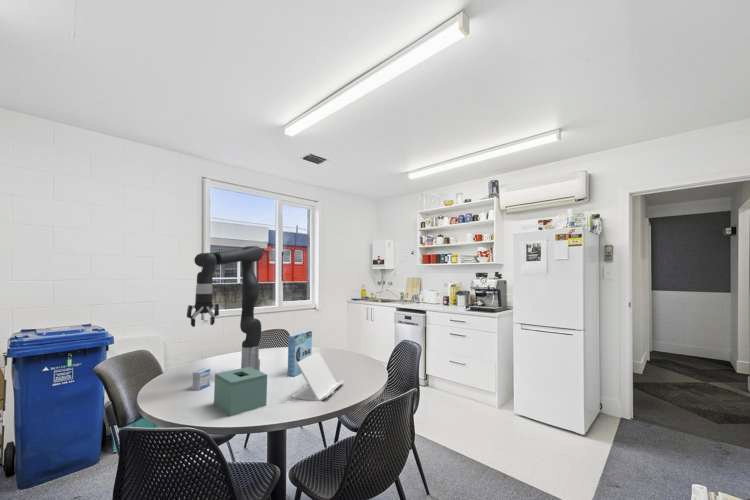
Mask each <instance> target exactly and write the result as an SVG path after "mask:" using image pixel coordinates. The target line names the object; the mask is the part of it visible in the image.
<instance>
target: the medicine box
mask: <svg viewBox="0 0 750 500" xmlns="http://www.w3.org/2000/svg"><path fill="white" fill-rule="evenodd" d="M191 386H192V387H191V388H192V390H193V391H201V390H203V389H205V388H207V387H209V386H211V368H202V369H199V370H196V371H194V372H192V385H191Z"/></svg>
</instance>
